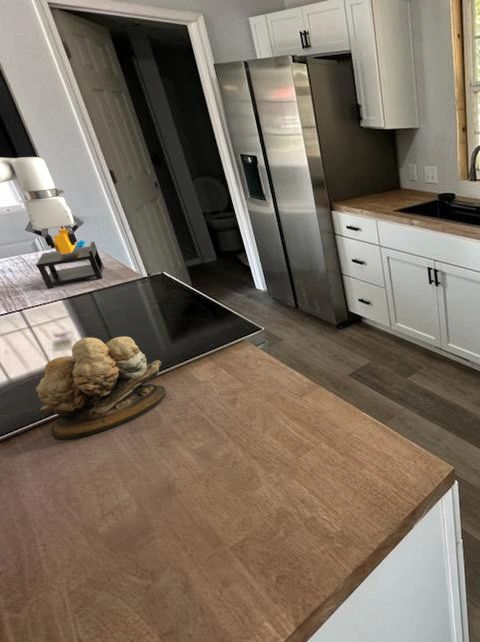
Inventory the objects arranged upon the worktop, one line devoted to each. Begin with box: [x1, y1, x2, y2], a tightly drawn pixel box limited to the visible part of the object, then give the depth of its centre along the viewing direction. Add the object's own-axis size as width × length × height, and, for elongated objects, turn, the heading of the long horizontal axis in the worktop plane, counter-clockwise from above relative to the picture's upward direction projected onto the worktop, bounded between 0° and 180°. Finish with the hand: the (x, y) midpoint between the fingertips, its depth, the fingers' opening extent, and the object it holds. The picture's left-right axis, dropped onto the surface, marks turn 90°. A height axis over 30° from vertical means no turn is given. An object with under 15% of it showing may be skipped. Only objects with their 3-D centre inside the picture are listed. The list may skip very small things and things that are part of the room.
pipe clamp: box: [53, 228, 77, 254], centre depth 146 cm, size 12×4×6 cm, turn 40°
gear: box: [74, 239, 89, 261], centre depth 169 cm, size 11×6×10 cm
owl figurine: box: [35, 336, 167, 441], centre depth 79 cm, size 18×12×17 cm, turn 137°
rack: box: [36, 240, 105, 290], centre depth 149 cm, size 14×16×11 cm
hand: (63, 245), depth 146 cm, fingers closed on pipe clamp, 4 cm apart
